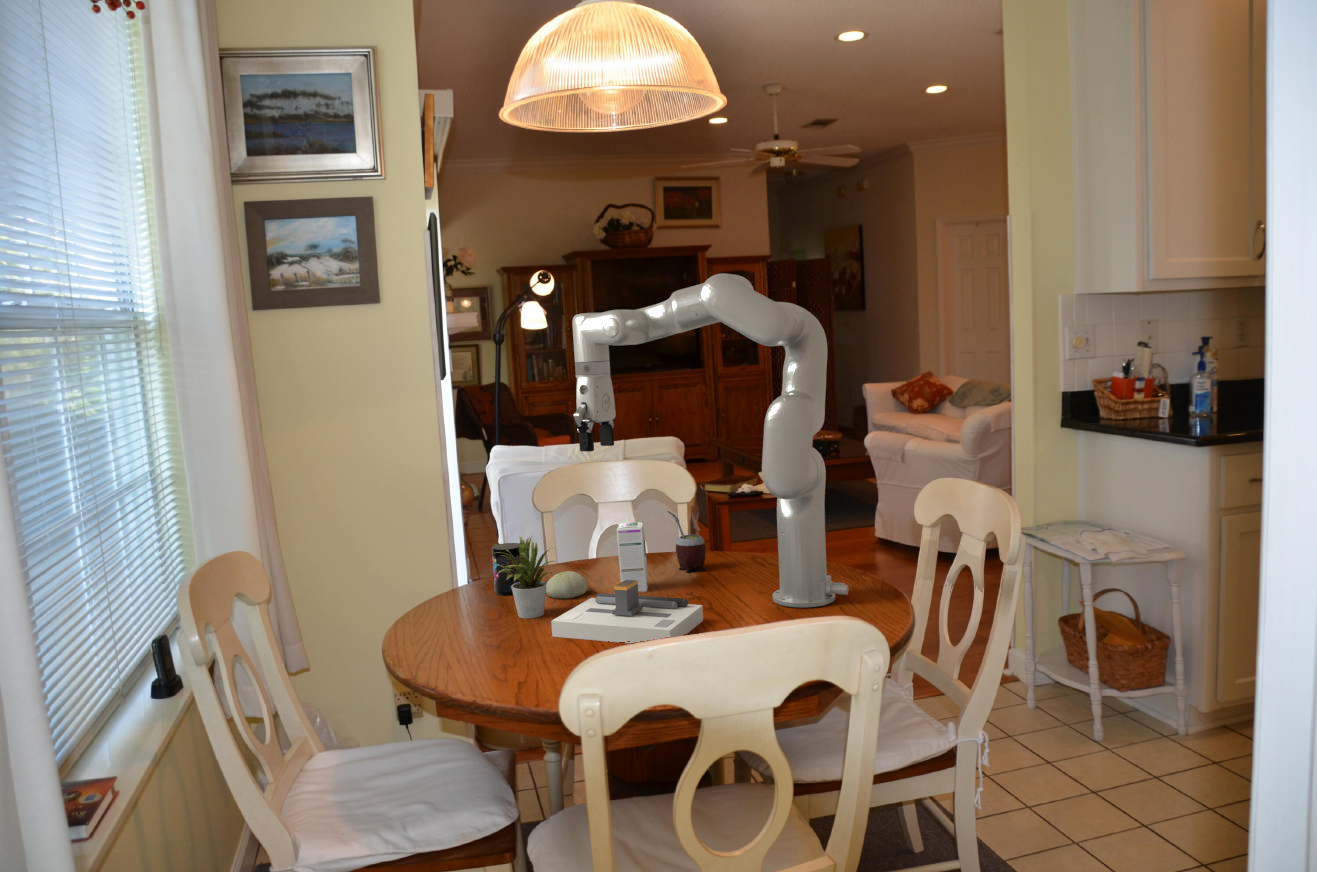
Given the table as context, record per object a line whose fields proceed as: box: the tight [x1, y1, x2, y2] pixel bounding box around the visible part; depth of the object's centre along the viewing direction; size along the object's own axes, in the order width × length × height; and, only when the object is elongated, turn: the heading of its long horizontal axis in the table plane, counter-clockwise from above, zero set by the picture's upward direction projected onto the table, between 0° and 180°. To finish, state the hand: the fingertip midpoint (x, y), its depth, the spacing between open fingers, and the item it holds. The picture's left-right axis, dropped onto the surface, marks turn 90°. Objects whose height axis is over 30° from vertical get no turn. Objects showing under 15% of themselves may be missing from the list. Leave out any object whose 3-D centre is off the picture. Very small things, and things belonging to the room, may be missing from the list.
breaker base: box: [550, 592, 704, 644], centre depth 176 cm, size 24×16×5 cm, turn 66°
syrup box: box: [616, 521, 649, 593], centre depth 203 cm, size 6×6×14 cm
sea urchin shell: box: [546, 570, 589, 600], centre depth 203 cm, size 9×8×8 cm
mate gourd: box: [666, 510, 707, 574], centre depth 217 cm, size 8×8×15 cm
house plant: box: [492, 536, 556, 619], centre depth 189 cm, size 14×14×16 cm
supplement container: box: [491, 542, 523, 596], centre depth 207 cm, size 7×7×10 cm
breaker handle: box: [612, 580, 643, 616], centre depth 175 cm, size 4×5×5 cm
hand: (597, 448), depth 204 cm, fingers open, 9 cm apart
